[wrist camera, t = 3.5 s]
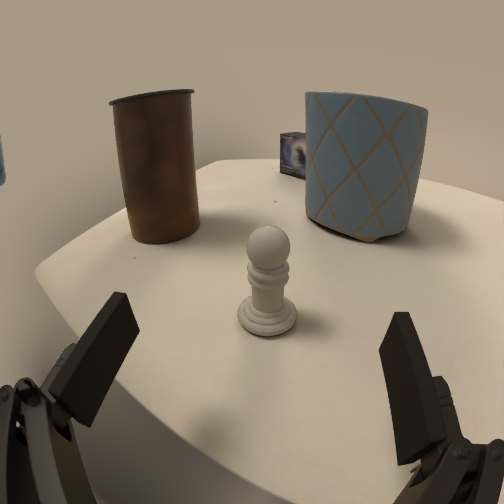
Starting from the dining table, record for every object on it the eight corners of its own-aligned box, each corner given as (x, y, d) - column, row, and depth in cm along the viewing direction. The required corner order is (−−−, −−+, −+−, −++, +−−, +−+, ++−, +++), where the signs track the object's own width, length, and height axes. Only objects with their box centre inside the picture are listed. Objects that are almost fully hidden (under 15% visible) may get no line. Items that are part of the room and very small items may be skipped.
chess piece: (286, 345, 22) (296, 251, 17) (228, 329, 24) (219, 237, 19) (302, 305, 26) (311, 219, 22) (250, 293, 28) (249, 209, 23)
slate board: (97, 106, 26) (96, 102, 25) (121, 105, 36) (121, 102, 36) (193, 90, 27) (193, 86, 27) (194, 94, 38) (194, 91, 37)
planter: (344, 192, 55) (350, 99, 45) (424, 224, 42) (441, 114, 32) (277, 212, 46) (278, 90, 36) (375, 261, 33) (398, 98, 22)
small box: (278, 172, 68) (278, 132, 63) (294, 169, 72) (295, 131, 67) (310, 182, 62) (313, 137, 56) (326, 177, 65) (329, 136, 60)
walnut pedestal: (125, 248, 36) (102, 105, 26) (138, 217, 46) (123, 104, 35) (200, 239, 38) (189, 90, 28) (199, 210, 47) (191, 94, 37)
